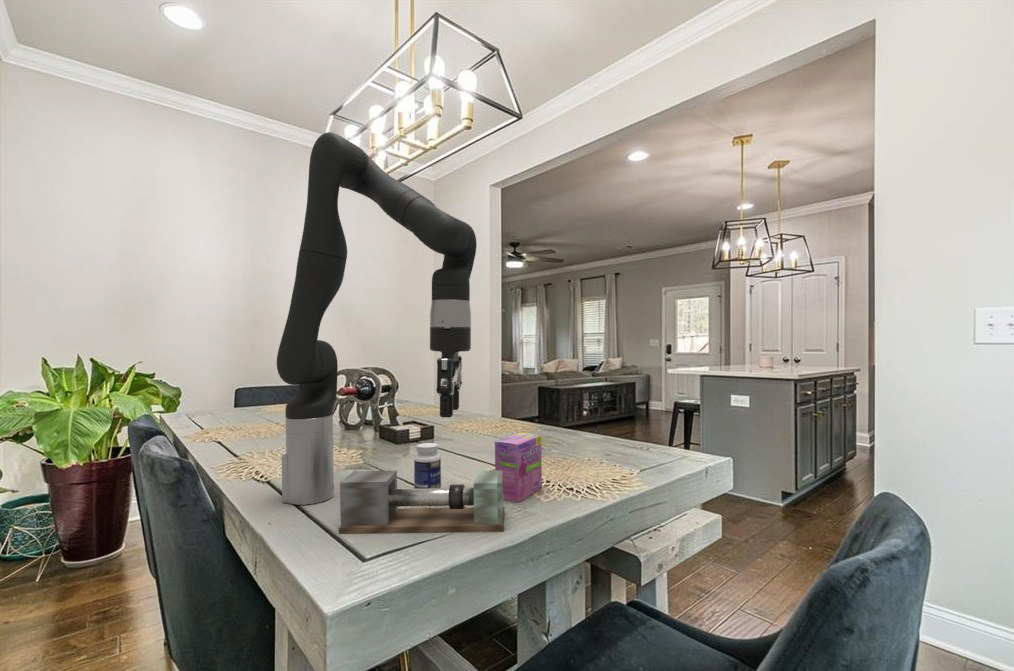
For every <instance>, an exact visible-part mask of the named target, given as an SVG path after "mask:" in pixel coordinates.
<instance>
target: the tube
mask: <svg viewBox="0 0 1014 671" xmlns="http://www.w3.org/2000/svg"><path fill="white" fill-rule="evenodd" d="M388 496H389V507H397V508H399V507H400V508H401V507H448V508H449V509H464V508H465V506H466V507H467V506H474V487H465V484H463V483H461V484H456V483H455V484H450V485H449V487H441V488H422V489H414V488H397V489H390V490H389V494H388Z"/></svg>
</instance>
